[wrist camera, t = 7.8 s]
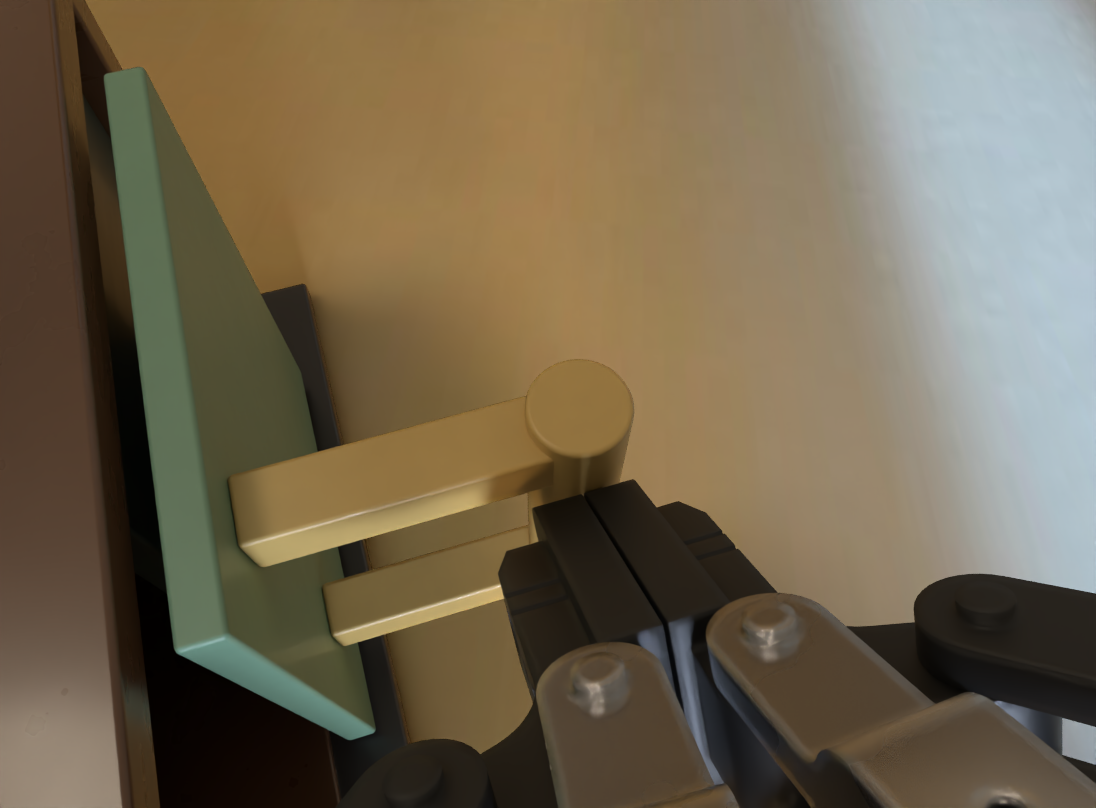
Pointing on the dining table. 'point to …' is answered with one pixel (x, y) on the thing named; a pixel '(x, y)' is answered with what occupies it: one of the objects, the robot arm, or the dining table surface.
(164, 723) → the cabinet
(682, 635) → the robot arm
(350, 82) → the dining table surface
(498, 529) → the dining table surface
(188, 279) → the door
